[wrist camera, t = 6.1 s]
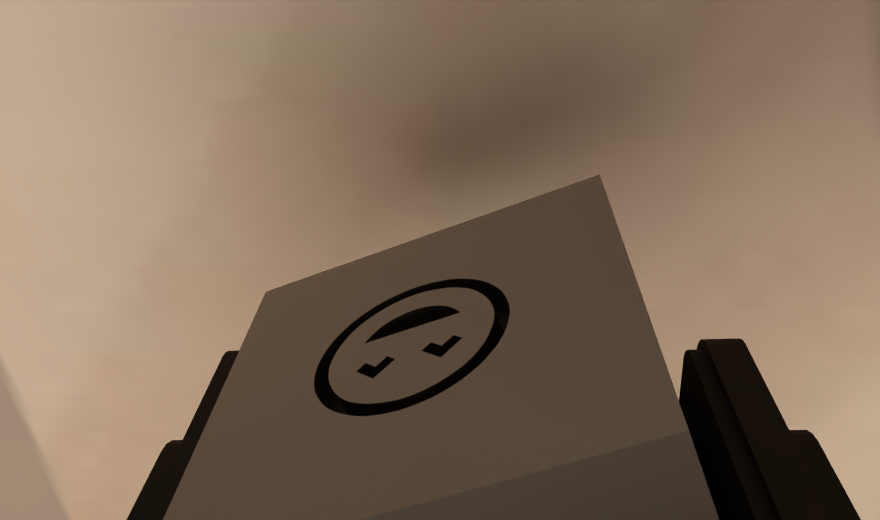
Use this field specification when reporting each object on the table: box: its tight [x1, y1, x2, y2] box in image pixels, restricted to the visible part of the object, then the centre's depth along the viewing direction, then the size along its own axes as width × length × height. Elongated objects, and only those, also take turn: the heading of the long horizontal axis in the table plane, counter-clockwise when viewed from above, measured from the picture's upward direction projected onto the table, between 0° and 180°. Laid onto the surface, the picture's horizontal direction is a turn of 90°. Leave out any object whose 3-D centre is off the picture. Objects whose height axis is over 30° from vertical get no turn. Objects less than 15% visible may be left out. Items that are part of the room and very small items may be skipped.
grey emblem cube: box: [163, 175, 719, 520], centre depth 10 cm, size 5×5×5 cm
